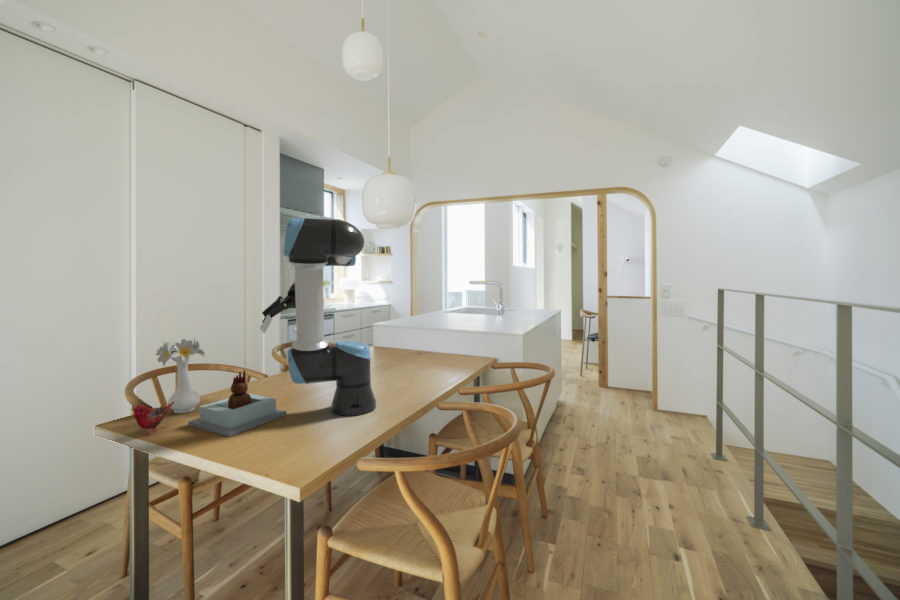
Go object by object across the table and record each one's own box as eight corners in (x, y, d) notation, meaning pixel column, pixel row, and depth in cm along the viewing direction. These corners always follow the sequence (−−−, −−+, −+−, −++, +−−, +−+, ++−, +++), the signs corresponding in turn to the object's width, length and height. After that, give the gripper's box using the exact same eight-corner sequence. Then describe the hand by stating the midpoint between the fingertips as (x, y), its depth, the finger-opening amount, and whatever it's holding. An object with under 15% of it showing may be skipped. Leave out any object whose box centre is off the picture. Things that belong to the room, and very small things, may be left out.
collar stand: (286, 414, 131) (286, 398, 131) (229, 436, 113) (229, 417, 113) (247, 406, 140) (246, 390, 140) (188, 425, 122) (187, 407, 122)
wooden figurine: (255, 414, 128) (254, 369, 128) (241, 420, 123) (239, 373, 122) (240, 412, 131) (238, 367, 130) (224, 418, 125) (223, 371, 124)
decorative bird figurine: (129, 443, 109) (127, 408, 108) (170, 420, 127) (168, 389, 126) (140, 443, 109) (138, 408, 109) (179, 420, 127) (178, 389, 126)
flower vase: (182, 402, 145) (179, 334, 144) (218, 408, 139) (215, 337, 137) (144, 413, 133) (140, 340, 132) (181, 420, 126) (177, 343, 125)
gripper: (331, 295, 161) (313, 337, 147) (277, 295, 165) (254, 336, 151) (325, 282, 155) (305, 325, 141) (268, 283, 160) (243, 324, 146)
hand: (278, 331), depth 146 cm, fingers open, 13 cm apart
